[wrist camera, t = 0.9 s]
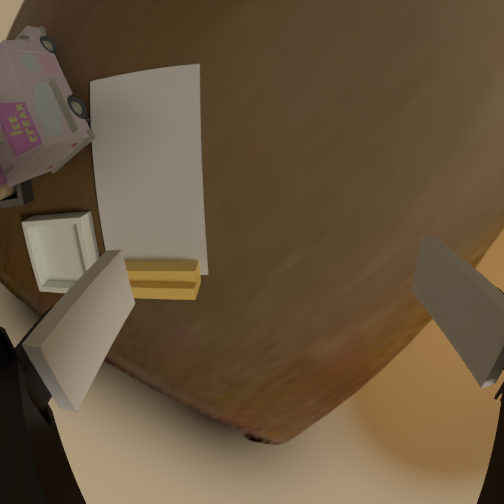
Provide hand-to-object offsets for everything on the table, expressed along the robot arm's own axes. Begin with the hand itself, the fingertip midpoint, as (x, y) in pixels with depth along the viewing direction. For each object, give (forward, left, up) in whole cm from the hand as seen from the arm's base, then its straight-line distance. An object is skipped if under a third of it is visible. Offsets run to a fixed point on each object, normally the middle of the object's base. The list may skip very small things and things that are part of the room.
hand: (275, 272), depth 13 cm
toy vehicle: (-13, -27, -24) cm, 38 cm away
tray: (+9, -28, -24) cm, 38 cm away
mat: (-1, -14, -24) cm, 28 cm away
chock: (+12, -14, -24) cm, 30 cm away
